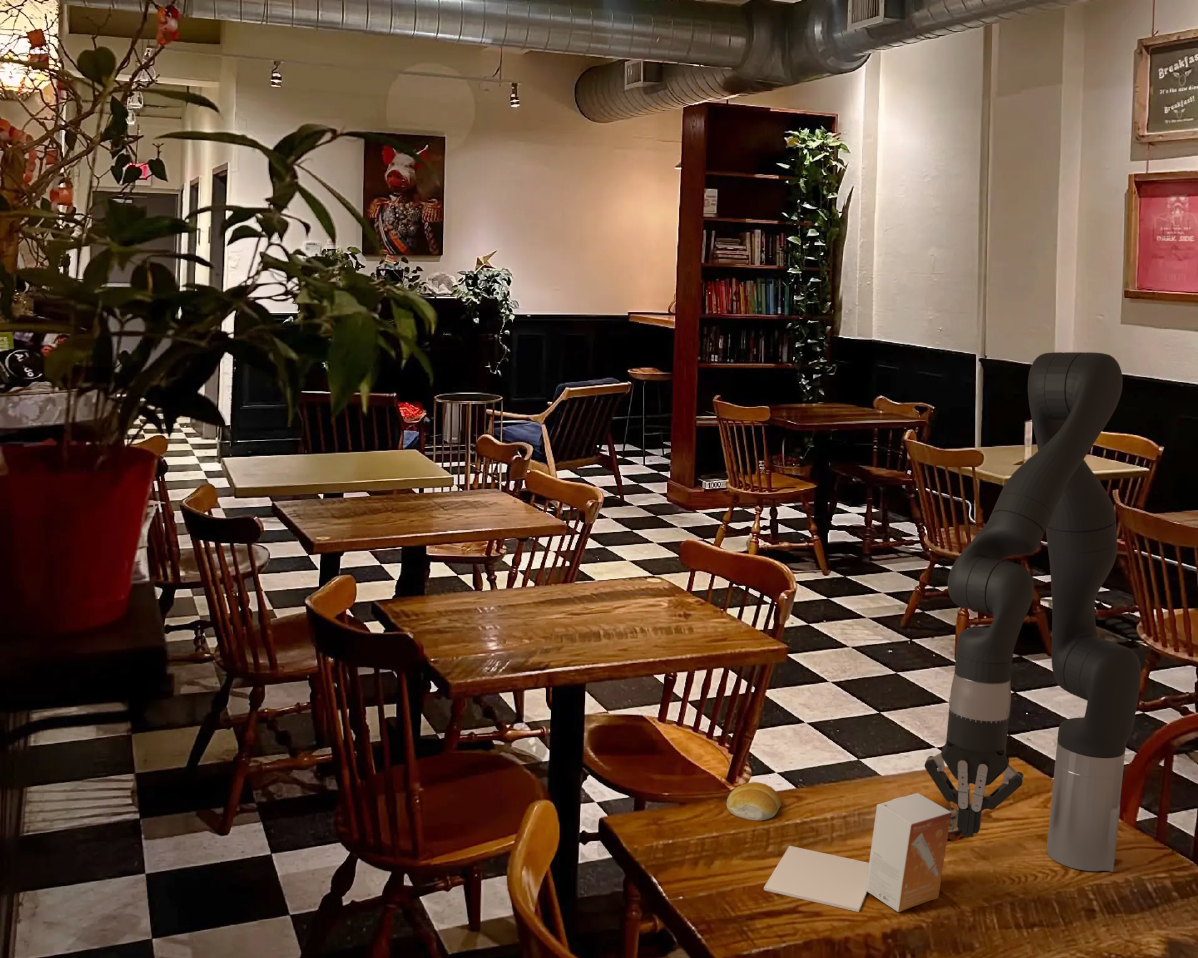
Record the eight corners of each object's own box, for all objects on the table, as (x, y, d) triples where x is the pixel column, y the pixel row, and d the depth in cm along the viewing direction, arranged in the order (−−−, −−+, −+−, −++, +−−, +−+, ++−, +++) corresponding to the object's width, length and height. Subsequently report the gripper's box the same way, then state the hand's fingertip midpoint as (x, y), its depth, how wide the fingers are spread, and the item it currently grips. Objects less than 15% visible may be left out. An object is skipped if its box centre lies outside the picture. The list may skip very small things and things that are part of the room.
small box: (898, 913, 158) (911, 824, 155) (863, 890, 163) (875, 803, 161) (940, 898, 163) (952, 811, 160) (905, 876, 168) (916, 791, 165)
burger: (927, 804, 194) (931, 761, 193) (984, 833, 184) (988, 788, 183) (872, 819, 188) (876, 774, 186) (928, 850, 178) (932, 802, 177)
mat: (877, 867, 171) (878, 864, 171) (858, 911, 158) (858, 909, 158) (789, 848, 176) (789, 845, 176) (763, 889, 163) (763, 887, 163)
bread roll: (783, 803, 192) (785, 779, 192) (773, 825, 184) (774, 801, 183) (733, 794, 195) (734, 771, 194) (720, 816, 187) (722, 792, 186)
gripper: (1034, 708, 156) (1022, 833, 159) (931, 692, 162) (921, 812, 164) (1030, 726, 150) (1018, 856, 152) (923, 708, 155) (912, 834, 157)
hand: (967, 833), depth 158 cm, fingers closed
